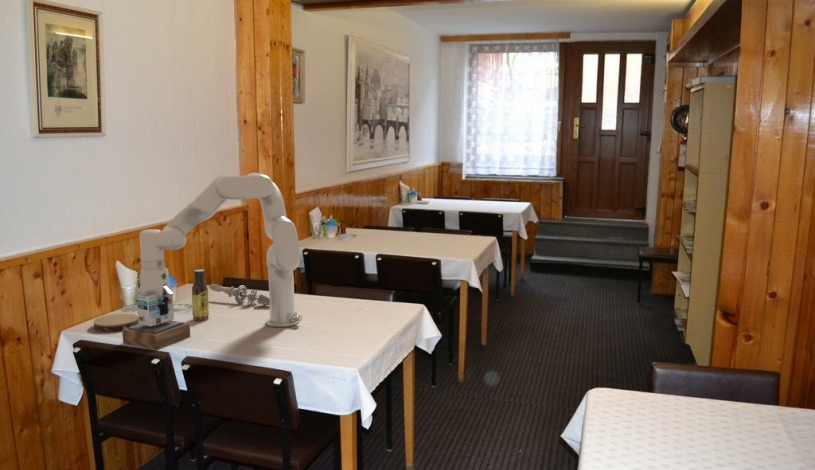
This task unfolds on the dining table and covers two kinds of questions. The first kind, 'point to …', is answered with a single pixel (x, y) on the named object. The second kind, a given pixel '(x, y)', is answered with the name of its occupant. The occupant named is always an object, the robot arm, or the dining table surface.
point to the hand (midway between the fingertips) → (156, 312)
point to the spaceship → (242, 294)
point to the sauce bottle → (200, 297)
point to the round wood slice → (115, 322)
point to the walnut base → (156, 334)
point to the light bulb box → (153, 310)
